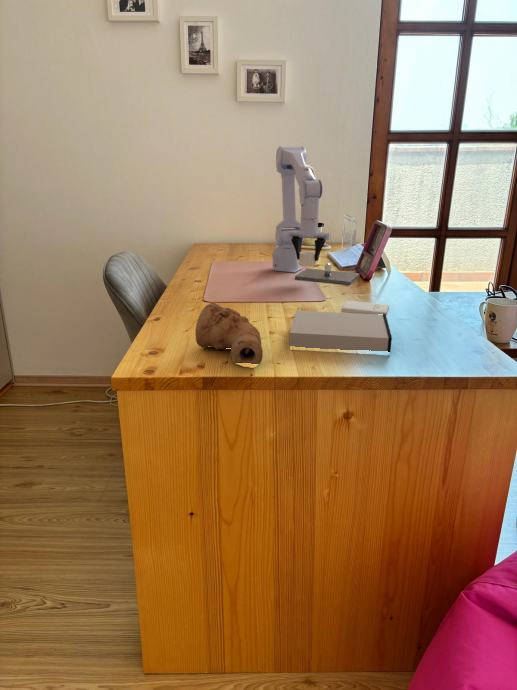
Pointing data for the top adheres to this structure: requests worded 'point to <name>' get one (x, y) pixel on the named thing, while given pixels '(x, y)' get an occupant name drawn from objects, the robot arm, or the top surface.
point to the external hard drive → (365, 307)
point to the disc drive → (340, 331)
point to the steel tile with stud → (328, 275)
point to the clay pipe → (229, 333)
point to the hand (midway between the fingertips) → (307, 259)
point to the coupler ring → (307, 258)
